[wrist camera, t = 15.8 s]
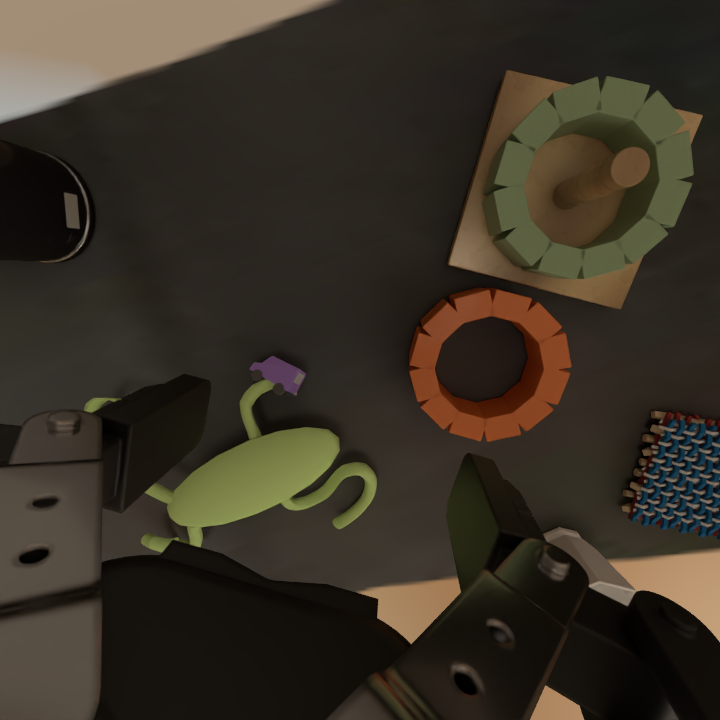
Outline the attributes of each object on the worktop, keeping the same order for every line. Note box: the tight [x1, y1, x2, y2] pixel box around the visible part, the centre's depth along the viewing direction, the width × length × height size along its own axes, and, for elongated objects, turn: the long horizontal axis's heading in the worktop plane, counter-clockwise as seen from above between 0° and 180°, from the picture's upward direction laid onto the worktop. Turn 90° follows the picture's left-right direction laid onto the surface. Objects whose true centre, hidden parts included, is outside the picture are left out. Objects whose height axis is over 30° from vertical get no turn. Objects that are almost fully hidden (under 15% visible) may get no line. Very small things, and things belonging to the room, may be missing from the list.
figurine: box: [84, 356, 377, 552], centre depth 36 cm, size 18×27×6 cm
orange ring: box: [409, 287, 571, 442], centre depth 32 cm, size 12×12×4 cm
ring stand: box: [446, 70, 703, 309], centre depth 26 cm, size 14×14×10 cm
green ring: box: [482, 76, 694, 279], centre depth 27 cm, size 12×12×4 cm
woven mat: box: [622, 411, 720, 540], centre depth 33 cm, size 10×11×2 cm
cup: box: [543, 527, 637, 606], centre depth 34 cm, size 7×10×8 cm
